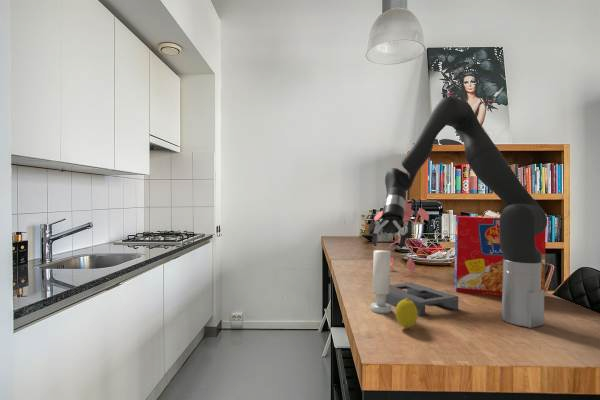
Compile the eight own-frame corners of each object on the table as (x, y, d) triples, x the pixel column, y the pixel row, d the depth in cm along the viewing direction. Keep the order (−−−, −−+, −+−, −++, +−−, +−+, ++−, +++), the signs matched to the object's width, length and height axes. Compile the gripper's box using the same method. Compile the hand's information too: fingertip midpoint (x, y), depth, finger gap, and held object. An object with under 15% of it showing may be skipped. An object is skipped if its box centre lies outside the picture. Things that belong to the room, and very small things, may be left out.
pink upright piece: (375, 267, 177) (376, 197, 177) (429, 273, 165) (431, 198, 164) (365, 273, 164) (367, 197, 163) (424, 280, 152) (426, 198, 151)
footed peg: (395, 312, 107) (396, 252, 107) (379, 314, 104) (380, 253, 104) (382, 306, 112) (383, 249, 112) (366, 308, 110) (367, 250, 109)
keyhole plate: (458, 309, 110) (458, 296, 110) (420, 316, 103) (420, 302, 103) (411, 293, 128) (411, 282, 128) (376, 298, 121) (376, 286, 121)
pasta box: (456, 292, 132) (457, 216, 132) (454, 287, 139) (455, 216, 139) (544, 300, 123) (545, 219, 123) (537, 294, 131) (538, 218, 131)
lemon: (400, 323, 97) (401, 294, 97) (420, 328, 93) (421, 298, 93) (391, 329, 93) (392, 298, 93) (412, 334, 89) (412, 302, 89)
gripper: (372, 202, 128) (364, 237, 118) (413, 203, 123) (409, 239, 112) (375, 216, 133) (368, 250, 123) (415, 218, 128) (410, 254, 117)
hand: (387, 245), depth 118 cm, fingers open, 8 cm apart
